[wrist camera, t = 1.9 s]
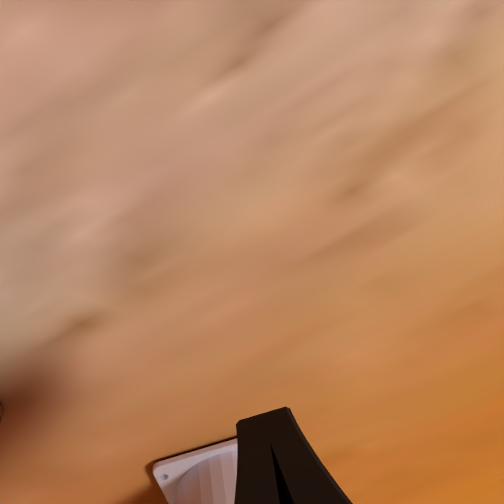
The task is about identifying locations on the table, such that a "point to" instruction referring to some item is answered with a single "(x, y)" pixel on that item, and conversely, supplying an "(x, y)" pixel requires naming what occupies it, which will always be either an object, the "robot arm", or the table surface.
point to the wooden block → (1, 413)
